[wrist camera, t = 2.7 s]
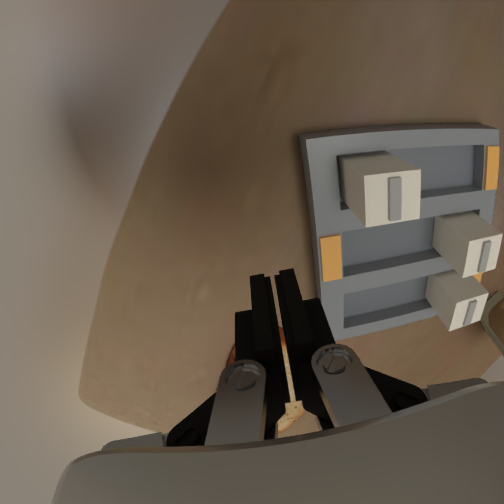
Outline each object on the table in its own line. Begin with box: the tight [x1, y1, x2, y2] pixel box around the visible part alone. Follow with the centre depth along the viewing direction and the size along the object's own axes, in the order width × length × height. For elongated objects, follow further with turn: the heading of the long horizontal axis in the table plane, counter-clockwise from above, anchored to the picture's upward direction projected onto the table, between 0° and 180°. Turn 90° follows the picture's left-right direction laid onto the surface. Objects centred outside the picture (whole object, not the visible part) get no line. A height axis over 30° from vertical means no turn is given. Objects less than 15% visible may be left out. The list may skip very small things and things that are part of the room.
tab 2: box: [425, 269, 489, 331], centre depth 26 cm, size 3×4×6 cm
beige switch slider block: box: [338, 151, 421, 228], centre depth 20 cm, size 3×4×6 cm
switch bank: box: [299, 123, 499, 341], centre depth 25 cm, size 19×18×3 cm
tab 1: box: [432, 211, 503, 278], centre depth 23 cm, size 3×4×6 cm
